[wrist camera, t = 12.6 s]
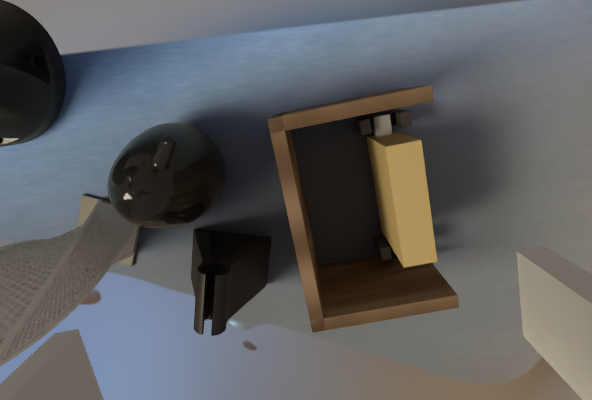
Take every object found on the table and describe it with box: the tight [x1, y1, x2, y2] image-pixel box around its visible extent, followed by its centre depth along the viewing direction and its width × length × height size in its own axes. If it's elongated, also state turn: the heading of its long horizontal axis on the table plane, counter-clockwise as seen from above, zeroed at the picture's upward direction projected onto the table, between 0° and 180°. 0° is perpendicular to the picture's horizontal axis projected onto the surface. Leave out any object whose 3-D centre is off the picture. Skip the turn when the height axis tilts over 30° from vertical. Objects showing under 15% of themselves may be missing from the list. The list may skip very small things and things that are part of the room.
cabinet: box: [267, 85, 459, 332], centre depth 41 cm, size 19×13×12 cm
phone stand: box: [191, 229, 271, 336], centre depth 43 cm, size 9×6×12 cm, turn 83°
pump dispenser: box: [108, 123, 227, 229], centre depth 39 cm, size 10×10×15 cm
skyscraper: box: [0, 194, 141, 366], centre depth 34 cm, size 8×8×28 cm
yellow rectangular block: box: [366, 114, 437, 268], centre depth 41 cm, size 15×3×11 cm, turn 11°
